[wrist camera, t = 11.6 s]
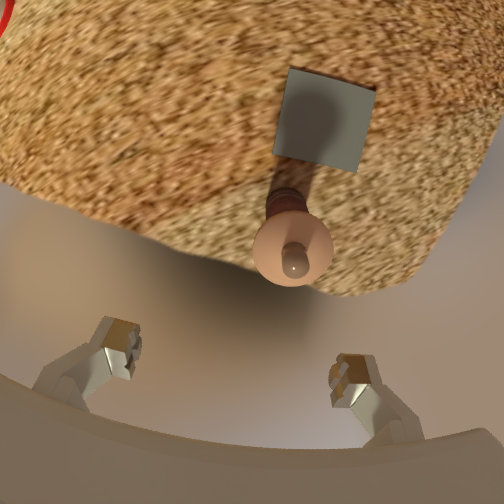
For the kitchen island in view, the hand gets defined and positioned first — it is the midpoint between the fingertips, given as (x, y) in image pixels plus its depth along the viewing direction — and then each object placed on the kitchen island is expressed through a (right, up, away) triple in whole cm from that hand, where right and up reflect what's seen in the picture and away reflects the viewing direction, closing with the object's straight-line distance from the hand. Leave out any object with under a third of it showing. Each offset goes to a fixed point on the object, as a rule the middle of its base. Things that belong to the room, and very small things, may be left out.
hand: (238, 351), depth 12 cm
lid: (+5, +4, +23) cm, 24 cm away
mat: (+11, +23, +29) cm, 38 cm away
